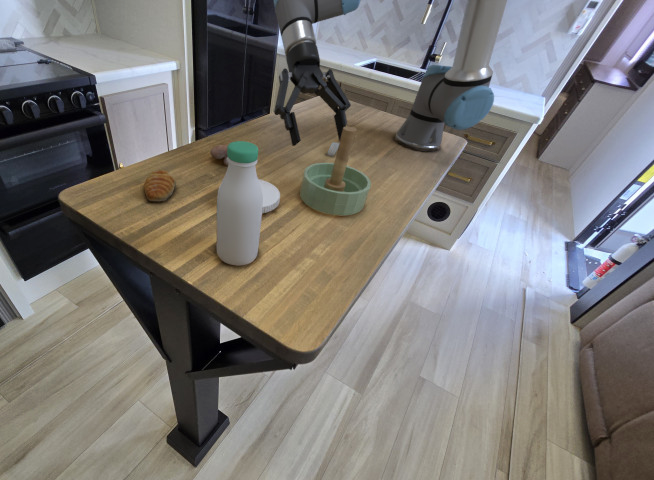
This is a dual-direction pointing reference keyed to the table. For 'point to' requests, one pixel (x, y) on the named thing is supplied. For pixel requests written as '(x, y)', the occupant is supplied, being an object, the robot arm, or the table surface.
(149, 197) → the pastry
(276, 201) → the plastic lid
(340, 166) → the pestle
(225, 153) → the mushroom
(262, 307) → the table surface
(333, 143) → the fork
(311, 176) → the bowl
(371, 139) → the table surface
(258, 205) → the milk bottle
